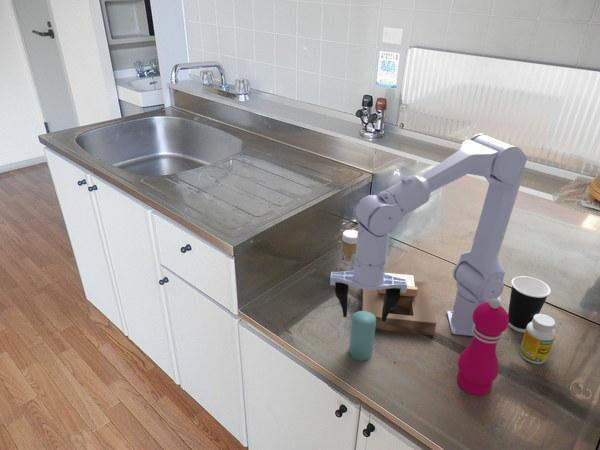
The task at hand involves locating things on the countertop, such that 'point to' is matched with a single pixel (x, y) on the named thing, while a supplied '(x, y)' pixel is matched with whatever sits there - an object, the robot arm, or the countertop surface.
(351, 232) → the sprinkles bottle
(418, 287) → the socket block
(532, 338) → the supplement bottle
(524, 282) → the dixie cup
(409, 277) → the panel
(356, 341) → the peg
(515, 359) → the countertop surface
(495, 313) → the pepper mill
